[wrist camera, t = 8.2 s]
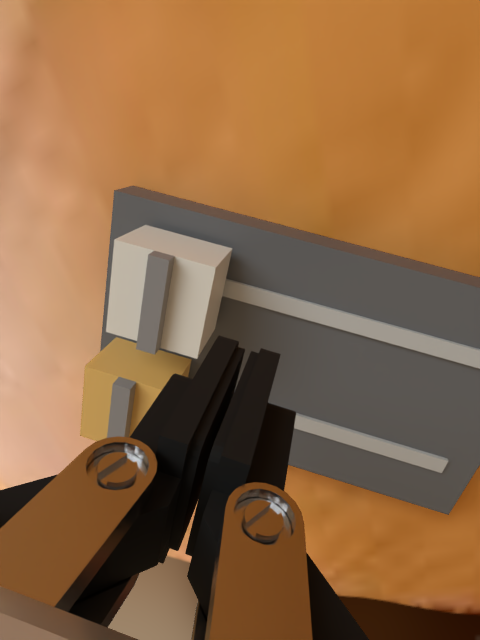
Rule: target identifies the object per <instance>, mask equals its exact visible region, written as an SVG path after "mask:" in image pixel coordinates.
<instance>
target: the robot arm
mask: <svg viewBox="0 0 480 640" xmlns="http://www.w3.org/2000/svg"><path fill="white" fill-rule="evenodd" d="M238 345H239V341H236V340H233V339H229V338H226V337H223V336H220V335H219V336H218V337H217V339H216V340H215V342H214V344H213V345H212V347H211V349H210V351H209V352H208V354H207V356H206V357H205V359H204V361H203V362H202V364H201V366H200V367H199V369H198V371H197V372H196V374H195V376H194V378H193V379H191V378H188V377H185V376H182V375H179V374H176V373H175V374H173V375H172V376H171V377H170V379H169V380H168V382H167V383H166V385H165V386H164V388H163V389H162V391H161V392H160V394H159V395H158V396H157V398H156V399H155V401H154V402H153V404H152V405H151V407H150V408H149V410H148V411H147V412H146V414H145V415H144V417H143V418H142V420H141V421H140V423H139V424H138V426H137V427H136V429H135V430H134V431H133V433H132V434H131V436H130V437H120V436H117V437H109V438H105V439H102V440H99V441H97V442H95V443H93V444H92V445H90V446H89V447H88V448H86V449H85V450H84V451H83V452H82V453H81V454H80V455H79V456H78V457H76V458H75V459H74V460H73V461H72V462H71V463H70V464H69V465H68V466H67V467H66V468H65V469H64V470H63V471H61V472H60V473H59V474H58V475H54V476H51V477H47V478H43V479H40V480H36V481H33V482H29V483H25V484H22V485H18V486H14V487H11V488H7V489H4V490H0V640H138V639H135V638H133V637H130V636H127V635H125V634H122V633H119V632H117V631H115V630H112V629H109V628H108V626H109V625H110V623H111V621H112V620H113V618H114V617H115V615H116V614H117V612H118V610H119V609H120V607H121V606H122V604H123V602H124V601H125V599H126V598H127V596H128V595H129V593H130V591H131V590H132V588H133V587H134V585H135V583H136V580H137V578H138V576H139V573H140V572H143V571H145V570H147V569H150V568H152V567H154V566H156V565H157V564H158V562H160V563H164V561H165V558H166V556H167V553H168V551H169V548H171V549H174V550H176V551H178V550H179V548H180V545H181V543H182V540H183V538H184V535H185V533H186V530H187V527H188V525H189V522H190V520H191V517H192V514H193V512H194V509H195V507H196V504H197V501H198V504H197V508H196V512H195V516H194V520H193V524H192V528H191V532H190V536H189V540H188V545H187V549H186V554H187V555H190V556H192V559H191V563H190V567H189V571H188V575H187V577H188V579H189V581H190V583H191V585H192V587H193V589H194V592H195V594H196V596H197V598H198V603H197V607H196V612H195V618H194V625H193V631H192V638H191V640H369V639H368V638H367V636H366V635H365V633H364V632H363V631H362V629H361V628H360V626H359V625H358V624H357V622H356V621H355V619H354V618H353V617H352V615H351V614H350V612H349V611H348V610H347V608H346V607H345V606H344V604H343V603H342V601H341V600H340V599H339V597H338V596H337V594H336V593H335V592H334V590H333V589H332V587H331V586H330V585H329V583H328V582H327V580H326V579H325V578H324V576H323V575H322V574H321V572H320V571H319V569H318V568H317V567H316V565H315V564H314V562H313V561H312V560H311V558H310V557H309V555H308V554H307V553H306V543H305V529H304V521H303V517H302V513H301V511H300V509H299V507H298V506H297V504H296V502H295V501H294V500H293V499H292V498H291V497H290V496H289V495H288V494H287V493H286V492H284V487H285V480H286V474H287V468H288V462H289V455H290V449H291V443H292V437H293V430H294V424H295V418H296V411H293V410H290V409H286V408H283V407H280V406H277V405H274V404H271V403H268V400H269V396H270V392H271V389H272V385H273V381H274V378H275V374H276V370H277V366H278V363H279V359H280V355H281V354H279V353H276V352H272V351H269V350H266V349H263V348H261V349H260V351H259V353H257V352H253V351H251V353H250V355H249V357H248V360H247V362H246V365H245V367H244V370H243V372H242V375H241V377H240V380H239V382H238V385H237V387H236V384H237V380H238V376H239V372H240V368H241V364H242V360H243V356H244V352H245V349H244V348H240V347H238ZM235 387H236V390H235ZM234 391H235V392H234ZM198 499H199V500H198Z"/></svg>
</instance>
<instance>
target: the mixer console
mask: <svg viewBox="0 0 480 640" xmlns="http://www.w3.org/2000/svg"><path fill="white" fill-rule="evenodd" d="M144 225H148V226H152V227H156V228H159V229H163V230H167V231H170V232H174V233H178V234H181V235H185V236H189V237H192V238H196V239H200V240H203V241H207V242H211V243H214V244H218V245H222V246H225V247H229V248H232V253H231V258H230V262H229V267H228V271H227V276H226V281H225V285H224V290H223V294H222V299H221V303H220V308H219V313H218V317H217V322H216V326H215V330H214V331H213V333H212V335H211V336H210V338H209V340H208V341H207V343H206V345H205V346H204V348H203V350H202V352H201V353H200V355H199V357H198V358H197V359H196V358H192V357H189V356H186V355H182V354H179V353H176V352H172V351H169V350H166V349H162V348H160V349H159V350H161V351H165V352H168V353H171V354H175V355H178V356H182V357H185V358H188V359H192V360H191V365H190V370H189V375H188V378H191V379H193V378H194V376H195V374H196V372H197V371H198V369H199V367H200V366H201V364H202V362H203V361H204V359H205V357H206V356H207V354H208V352H209V351H210V349H211V347H212V345H213V344H214V342H215V340H216V339H217V337H218V336H219V335H220V336H223V337H226V338H229V339H233V340H236V341H239V345H238V347H240V348H244V349H245V352H244V356H243V360H242V364H241V368H240V372H239V376H238V380H237V384H236V387H237V385H238V382H239V380H240V377H241V375H242V372H243V370H244V367H245V365H246V362H247V360H248V357H249V355H250V353H251V351H253V352H257V353H259V351H260V349H261V348H263V349H266V350H269V351H272V352H276V353H279V354H281V355H280V359H279V363H278V366H277V370H276V374H275V378H274V381H273V385H272V389H271V392H270V396H269V400H268V403H271V404H274V405H277V406H280V407H283V408H286V409H290V410H293V411H296V418H295V424H294V430H293V437H292V443H291V449H290V455H289V462H288V465H291V466H294V467H297V468H301V469H304V470H307V471H310V472H313V473H317V474H320V475H323V476H326V477H329V478H333V479H336V480H339V481H342V482H345V483H348V484H352V485H355V486H358V487H361V488H364V489H368V490H371V491H374V492H377V493H380V494H384V495H387V496H390V497H393V498H396V499H400V500H403V501H406V502H409V503H412V504H416V505H419V506H422V507H425V508H428V509H432V510H435V511H438V512H441V513H444V514H448V515H449V513H450V511H451V510H452V508H453V507H454V505H455V503H456V502H457V500H458V499H459V497H460V495H461V494H462V492H463V491H464V489H465V487H466V486H467V484H468V483H469V481H470V479H471V478H472V476H473V475H474V473H475V471H476V470H477V468H478V467H479V465H480V277H476V276H472V275H468V274H464V273H461V272H457V271H453V270H449V269H446V268H442V267H438V266H434V265H430V264H427V263H423V262H419V261H415V260H412V259H408V258H404V257H400V256H396V255H393V254H389V253H385V252H381V251H378V250H374V249H370V248H366V247H362V246H359V245H355V244H351V243H347V242H344V241H340V240H336V239H332V238H328V237H325V236H321V235H317V234H313V233H310V232H306V231H302V230H298V229H294V228H291V227H287V226H283V225H279V224H276V223H272V222H268V221H264V220H260V219H257V218H253V217H249V216H245V215H241V214H238V213H234V212H230V211H226V210H223V209H219V208H215V207H211V206H207V205H204V204H200V203H196V202H192V201H189V200H185V199H181V198H177V197H173V196H170V195H166V194H162V193H158V192H155V191H151V190H147V189H143V188H139V187H136V186H130V187H126V188H122V189H118V190H114V200H113V212H112V223H111V235H110V246H109V258H108V269H107V281H106V292H105V304H104V316H103V327H102V339H101V350H100V352H101V351H102V350H103V349H104V348H105V347H106V346H107V345H108V344H109V343H110V342H111V341H112V340H114V339H115V338H116V337H118V338H121V339H124V340H128V341H131V342H134V343H137V341H135V340H132V339H128V338H125V337H122V336H118V335H115V334H112V333H108V332H106V325H107V314H108V303H109V292H110V281H111V270H112V259H113V248H114V239H116V238H119V237H121V236H123V235H125V234H127V233H129V232H131V231H133V230H136V229H138V228H140V227H142V226H144ZM236 387H235V390H236ZM234 392H235V391H234Z"/></svg>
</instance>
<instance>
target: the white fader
mask: <svg viewBox="0 0 480 640" xmlns="http://www.w3.org/2000/svg"><path fill="white" fill-rule="evenodd" d="M231 253H232V248H229V247H225V246H222V245H218V244H214V243H211V242H207V241H203V240H200V239H196V238H192V237H189V236H185V235H181V234H178V233H174V232H170V231H167V230H163V229H159V228H156V227H152V226H148V225H144V226H142V227H140V228H138V229H136V230H133V231H131V232H129V233H127V234H125V235H123V236H121V237H119V238H116V239H114V248H113V259H112V270H111V281H110V292H109V303H108V314H107V325H106V332H108V333H112V334H115V335H118V336H122V337H125V338H128V339H132V340H135V341H137V345H136V349H137V350H141V351H144V352H147V353H151V354H154V355H155V354H156V353H157V351H158V350H159V349H160V348H162V349H166V350H169V351H172V352H176V353H179V354H182V355H186V356H189V357H192V358H196V359H197V358H198V357H199V355H200V353H201V352H202V350H203V348H204V346H205V345H206V343H207V341H208V340H209V338H210V336H211V335H212V333H213V331H214V330H215V326H216V322H217V317H218V313H219V308H220V303H221V299H222V294H223V290H224V285H225V281H226V276H227V271H228V267H229V262H230V258H231Z"/></svg>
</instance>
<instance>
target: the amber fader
mask: <svg viewBox="0 0 480 640" xmlns="http://www.w3.org/2000/svg"><path fill="white" fill-rule="evenodd" d="M136 345H137V343H134V342H131V341H128V340H124V339H121V338H118V337H116V338H115V339H114V340H112V341H111V342H110V343H109V344H108V345H107V346H106V347H105V348H104V349H103V350H102V351H101V352H100V353H99V354H97V355H96V356H95V357H94V358H93V359H92V360H91V361H90V362H89V363H88V364H87V365H86V366H85V373H84V387H83V401H82V416H81V430H80V436H83V437H86V438H89V439H92V440H95V441H99V440H102V439H105V438H109V437H117V436H120V437H130V436H131V434H132V433H133V431H134V430H135V429H136V427H137V426H138V424H139V423H140V421H141V420H142V418H143V417H144V415H145V414H146V412H147V411H148V410H149V408H150V407H151V405H152V404H153V402H154V401H155V399H156V398H157V396H158V395H159V394H160V392H161V391H162V389H163V388H164V386H165V385H166V383H167V382H168V380H169V379H170V377H171V376H172V375H173V374H175V373H176V374H179V375H182V376H185V377H188V375H189V370H190V365H191V360H192V359H188V358H185V357H182V356H178V355H175V354H171V353H168V352H165V351H161V350H158V351H157V353H156V354H155V355H154V354H151V353H147V352H144V351H141V350H137V349H136Z"/></svg>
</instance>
